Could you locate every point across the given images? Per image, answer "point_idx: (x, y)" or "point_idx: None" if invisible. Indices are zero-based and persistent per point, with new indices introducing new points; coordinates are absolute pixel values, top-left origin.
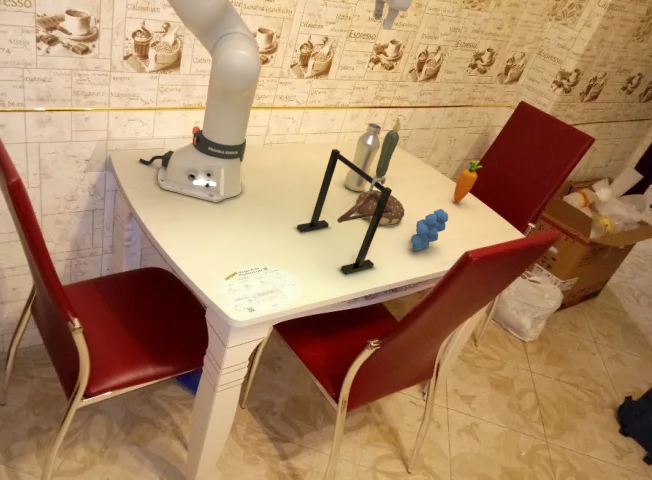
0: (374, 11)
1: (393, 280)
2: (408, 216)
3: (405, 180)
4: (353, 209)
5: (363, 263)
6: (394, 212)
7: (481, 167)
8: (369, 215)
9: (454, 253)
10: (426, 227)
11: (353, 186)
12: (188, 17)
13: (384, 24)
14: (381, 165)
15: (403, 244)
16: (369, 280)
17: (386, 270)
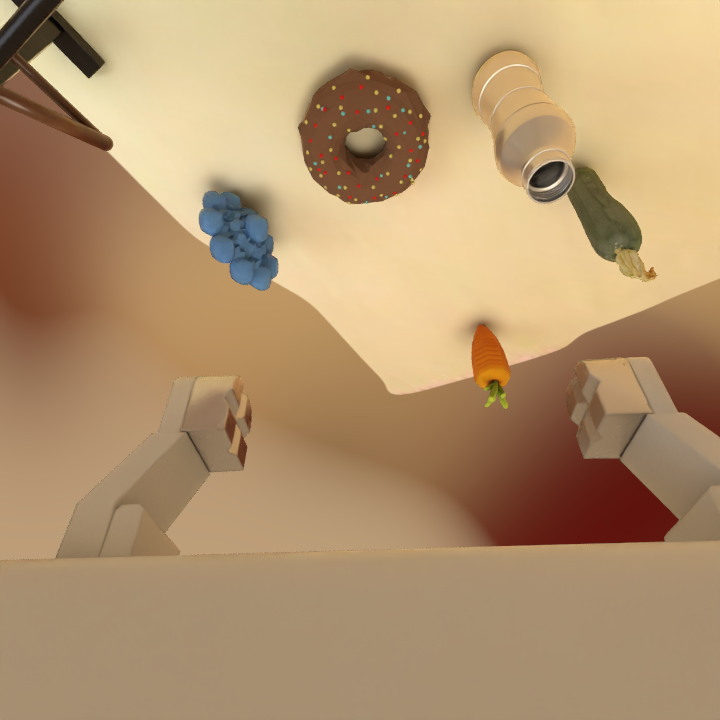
0: (652, 394)
1: None
2: (385, 213)
3: (573, 242)
4: None
5: (70, 46)
6: (317, 174)
7: (485, 405)
8: (18, 67)
9: None
10: (205, 232)
11: (476, 76)
12: None
13: (169, 397)
14: (576, 186)
15: (247, 175)
16: None
17: (106, 110)
